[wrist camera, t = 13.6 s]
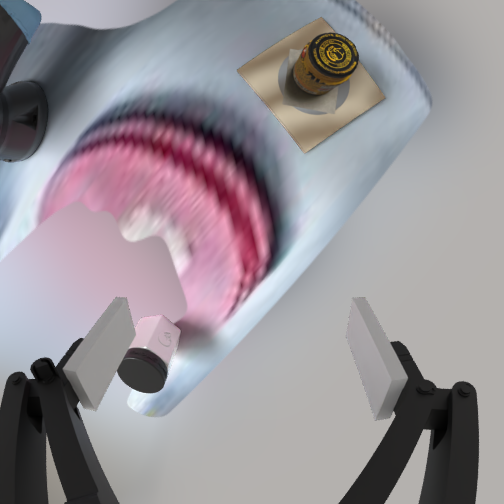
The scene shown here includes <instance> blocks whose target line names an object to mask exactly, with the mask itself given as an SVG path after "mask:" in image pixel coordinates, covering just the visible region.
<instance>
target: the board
mask: <svg viewBox="0 0 504 504" xmlns="http://www.w3.org/2000/svg"><path fill="white" fill-rule="evenodd" d="M329 32H332V33H335V31H334V30H333V29H332V28H331V27H330V26H329V25H328V24H327V23H326V21H325V20H324V19H323V18H322V17H320V18H319V19H317V20H315V21H313V22H311V23H309V24H308V25H306V26H304V27H302V28H301V29H299V30H297V31H296V32H294V33H292V34H291V35H289V36H287V37H286V38H284V39H282V40H281V41H279V42H278V43H276V44H274V45H273V46H271V47H270V48H268V49H267V50H265V51H264V52H262V53H261V54H259V55H258V56H256V57H255V58H253V59H252V60H250V61H249V62H248V63H246V64H245V65H243V66H242V67H241V68H239V69H238V70H237V72H238V73H239V74H240V75H241V77H242V78H243V79H244V80H245V81H246V82H247V83H248V84H249V86H250V87H251V88H252V89H253V90H254V91H255V93H256V94H257V95H258V96H259V97H260V98H261V100H262V101H263V102H264V103H265V104H266V106H267V107H268V108H269V109H270V110H271V112H272V113H273V114H274V115H275V117H276V118H277V119H278V120H279V122H280V123H281V124H282V125H283V127H284V128H285V129H286V130H287V132H288V133H289V134H290V136H291V137H292V138H293V139H294V141H295V142H296V143H297V145H298V146H299V147H300V149H301V150H302V151H303V153H306V152H308V151H309V150H310V149H312V148H313V147H315V146H316V145H317V144H319V143H320V142H322V141H323V140H325V139H326V138H327V137H329V136H330V135H332V134H333V133H334V132H336V131H337V130H339V129H340V128H342V127H343V126H345V125H346V124H347V123H349V122H350V121H352V120H353V119H355V118H356V117H358V116H359V115H361V114H362V113H364V112H365V111H367V110H368V109H370V108H371V107H373V106H374V105H376V104H377V103H379V102H380V101H382V100H383V99H385V96H384V95H383V93H382V92H381V90H380V89H379V88H378V86H377V85H376V83H375V82H374V80H373V79H372V78H371V76H370V75H369V74H368V72H367V71H366V70H365V68H364V67H363V66H362V64H361V63H360V62H359V60H358V65H357V69H355V71H354V72H353V73H352V75H351V77H350V78H349V79H348V80H347V81H345V82H344V83H342V84H341V85H339V86H338V95H337V102H336V109H335V114H331V113H326V112H321V111H316V110H311V109H305V108H300V107H294V106H289V105H283V104H282V103H283V96H284V88H285V81H286V74H287V66H288V59H289V52H290V49H295V50H301V51H302V50H303V48H304V46H305V45H306V44H307V43H308V42H310V41H311V40H313V39H314V38H315V37H316V36H318V35H320V34H323V33H329Z"/></svg>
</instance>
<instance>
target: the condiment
mask: <svg viewBox="0 0 504 504" xmlns="http://www.w3.org/2000/svg"><path fill="white" fill-rule="evenodd" d="M358 60H359V55H358V52H357V50H356V46H355V45H354V44H353V43H352V42H351V41H350V40H349V39H348V38H346V37H345V36H343V35H340V34H337V33H332V32H329V33H323V34H320V35H318V36H316V37H315V38H314V39H313V40H311V41H310V42H308V43H307V44H306V45H305V46H304V48H303V50H302V51H301V50H295V49H290V52H289V59H288V66H287V74H286V81H285V88H284V96H283V103H282V104H283V105H289V106H294V107H300V108H305V109H311V110H316V111H321V112H326V113H331V114H335V109H336V102H337V95H338V86H339V85H341V84H342V83H344V82H345V81H347V80H348V79H349V78H350V77H351V75H352V73H353V72H354V71H355V69H357V65H358Z"/></svg>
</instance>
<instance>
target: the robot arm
mask: <svg viewBox="0 0 504 504" xmlns="http://www.w3.org/2000/svg"><path fill="white" fill-rule="evenodd" d="M40 22H41V13H40V11H38V10H37V9H36V8H34V7H33V6H32V5H30V4H29V3H27V2H26V1H24V0H0V160H2V161H5V162H18V161H22V160H25V159H27V158H28V157H30V156H31V155H32V154H33V153H34V152H35V151H36V149H37V148H38V146H39V144H40V143H41V140H42V138H43V136H44V133H45V129H46V125H47V117H48V107H47V100H46V97H45V94H44V92H43V90H42V89H41V88H40V86H38V85H37V84H36V83H33V82H26V81H20V82H16V83H13V84H11V85H9V86H7V87H5V85H6V83H7V81H8V79H9V77H10V75H11V73H12V71H13V69H14V67H15V65H16V64H17V62H18V60H19V58H20V56H21V55H22V53H23V51H24V49H25V48H26V46H27V44H29V43H30V42H31V38H32V36H33V34H34V33H35V31H36V29H37V28H38V26H39V24H40ZM135 336H136V332H135V328H134V325H133V321H132V317H131V313H130V309H129V305H128V301H127V298H124V297H116V298H115V299H114V300H113V301H112V303H111V304H110V305H109V306H108V308H107V309H106V310H105V312H104V313H103V314H102V316H101V317H100V318H99V319H98V321H97V322H96V323H95V325H94V326H93V327H92V329H91V330H90V331H89V333H88V334H87V336H86V337H85V338H84V339H83V338H80V339H78V340H77V341H75V342H74V343H73V344H72V346H71V347H70V348H69V350H68V351H67V352H66V355H64V356H63V358H62V359H61V361H60V362H59V363H58V365H57V366H56V367H55V366H54V363H53V362H52V360H51V359H50V358H40V359H38V360H36V361H35V362H34V363H33V364H32V365H31V369H30V370H31V372H32V374H33V376H34V377H35V379H28V378H27V377H26V375H25V374H24V373H23V372H15V373H13V374H11V375H10V376H9V377H8V379H7V382H6V385H5V389H4V394H3V398H2V403H1V407H0V504H48V492H47V476H46V432H47V437H48V441H49V445H50V448H51V452H52V456H53V459H54V462H55V466H56V469H57V472H58V475H59V479H60V481H61V484H62V487H63V490H64V493H65V495H66V498H67V502H65V503H64V504H119V502H118V500H117V498H116V496H115V494H114V493H113V490H112V489H111V487H110V485H109V482H108V480H107V478H106V476H105V474H104V472H103V470H102V468H101V465H100V463H99V461H98V459H97V456H96V454H95V452H94V449H93V447H92V444H91V442H90V439H89V437H88V434H87V432H86V429H85V426H84V424H83V420H82V418H81V415H80V412H79V409H78V408H77V404H78V402H79V401H80V403H81V404H82V406H83V408H85V409H89V410H93V411H96V410H97V408H98V406H99V404H100V402H101V400H102V398H103V396H104V394H105V392H106V390H107V389H108V387H109V385H110V383H111V381H112V379H113V377H114V375H115V373H116V371H117V369H118V367H119V365H120V364H121V362H122V360H123V358H124V356H125V354H126V352H127V350H128V349H129V347H130V345H131V343H132V341H133V340H134V338H135ZM346 338H347V341H348V343H349V346H350V349H351V352H352V354H353V357H354V360H355V363H356V365H357V368H358V371H359V374H360V377H361V380H362V382H363V386H364V389H365V392H366V395H367V397H368V400H369V404H370V407H371V410H372V413H373V416H374V419H375V420H382V419H388V418H390V417H391V415H392V412H393V411H394V412H395V415H396V416H395V418H394V420H393V422H392V424H391V426H390V427H389V429H388V431H387V433H386V434H385V436H384V438H383V440H382V441H381V443H380V445H379V446H378V448H377V449H376V451H375V453H374V454H373V456H372V457H371V459H370V460H369V462H368V463H367V465H366V467H365V468H364V469H363V471H362V472H361V474H360V475H359V477H358V478H357V479H356V481H355V482H354V484H353V485H352V486H351V488H350V489H349V491H348V492H347V493H346V495H345V496H344V497H343V499H342V500H341V501H340V502H339V504H384V503H385V501H386V500H387V498H388V497H389V495H390V493H391V491H392V490H393V488H394V486H395V485H396V483H397V481H398V479H399V478H400V476H401V474H402V472H403V470H404V468H405V466H406V464H407V463H408V460H409V459H410V457H411V454H412V453H413V450H414V448H415V446H416V444H417V442H418V440H419V438H420V435H421V433H422V431H423V429H429V430H431V436H430V444H429V452H428V458H427V465H426V471H425V476H424V482H423V486H422V491H421V496H420V500H419V504H475V501H476V491H477V480H478V462H479V426H478V406H477V393H476V390H475V388H474V387H473V385H471V384H470V383H468V382H464V381H462V382H457V383H455V385H454V386H453V388H452V389H440V388H436V386H435V385H434V383H433V382H431V381H429V380H425V379H424V378H423V376H422V374H421V373H420V371H419V369H418V367H417V365H416V363H415V362H414V361H413V358H412V356H411V355H410V353H409V351H408V349H407V348H406V346H404V345H403V344H402V343H401V342H399V341H397V342H396V341H395V342H389V340H388V338H387V336H386V334H385V332H384V331H383V329H382V327H381V325H380V323H379V321H378V320H377V318H376V316H375V314H374V312H373V311H372V309H371V307H370V305H369V304H368V302H367V300H366V298H365V297H359V298H352V304H351V310H350V316H349V323H348V328H347V333H346Z"/></svg>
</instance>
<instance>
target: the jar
mask: <svg viewBox="0 0 504 504" xmlns="http://www.w3.org/2000/svg"><path fill="white" fill-rule="evenodd" d="M135 332H136V336H135V338H134V340H133V341H132V343H131V345H130V347H129V349H128V350H127V352H126V354H125V356H124V358H123V360H122V362H121V364H120V365H119V367H118V369H117V372H118V375H119V377H120V378H121V380H122V381H123V382H124V383H125V384H127V385H128V386H129V387H131V388H132V389H134V390H137V391H139V392H143V393H156V392H158V391H160V390H161V389H162V388H163V387H164V384H165V381H166V380H167V377H168V374H169V371H170V368H171V365H172V362H173V359H174V356H175V354H176V351H177V348H178V343H179V338H180V334H181V330H180V329H179V328H178V327H176V326H175V325H174V324H173V323H172V322H171V321H169V320H168V319H167V318H166V317H165V316H164V315H155V316H148V317H142V318H141V319H140V320H139V322H138V323H137V325H136V327H135Z"/></svg>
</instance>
